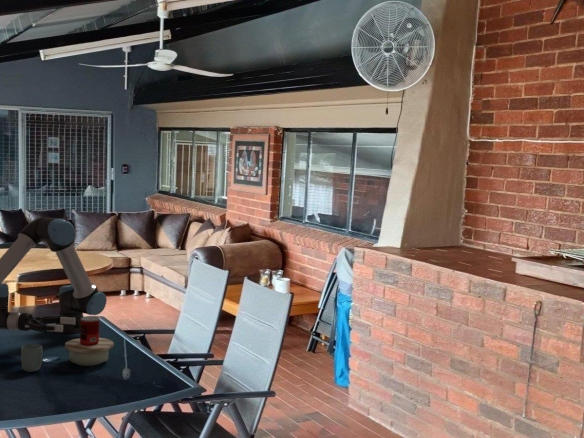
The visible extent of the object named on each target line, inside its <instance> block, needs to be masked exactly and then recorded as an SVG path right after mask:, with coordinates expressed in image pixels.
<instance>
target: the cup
mask: <svg viewBox="0 0 584 438" xmlns="http://www.w3.org/2000/svg"><path fill="white" fill-rule="evenodd" d="M20 351H21V352H20V353H21V354H20V355H21V356H20V359H21V360H20V361H21V366H22V369H23V371H25V372H27V373H28V372H29V373H33V372H37V371H38V370H40V368H41V366H42V362H43V345H42V344H40V343H30V344H23V345H22V346H21V349H20Z"/></svg>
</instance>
